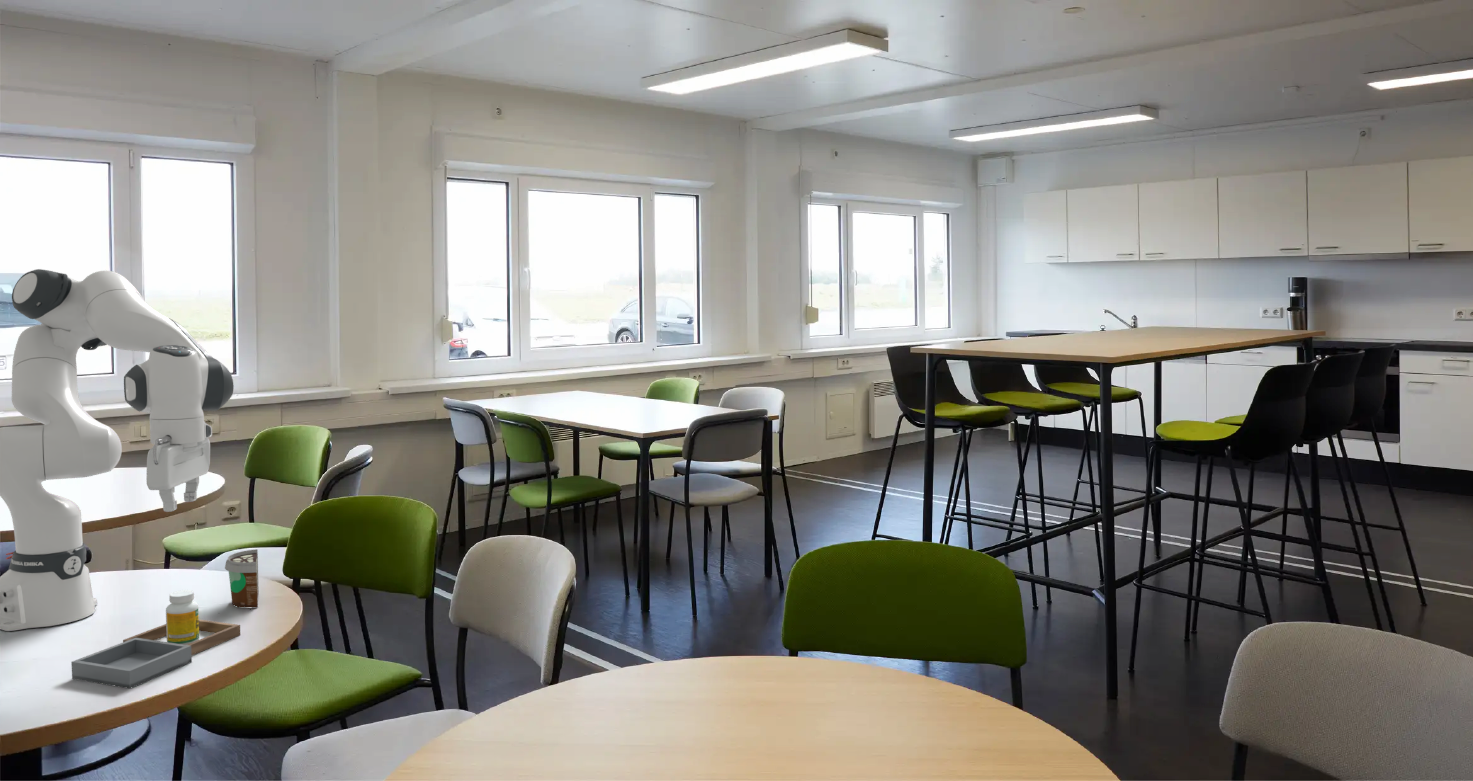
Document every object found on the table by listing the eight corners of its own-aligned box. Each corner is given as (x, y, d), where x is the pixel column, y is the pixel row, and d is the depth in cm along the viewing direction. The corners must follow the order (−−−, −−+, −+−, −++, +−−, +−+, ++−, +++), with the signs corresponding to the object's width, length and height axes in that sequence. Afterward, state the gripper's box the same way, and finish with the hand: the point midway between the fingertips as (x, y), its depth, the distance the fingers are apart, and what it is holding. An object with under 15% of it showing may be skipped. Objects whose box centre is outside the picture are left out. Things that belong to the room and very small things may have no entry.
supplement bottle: (164, 641, 185) (162, 592, 184) (196, 635, 189) (194, 587, 188) (169, 649, 181) (167, 599, 180) (202, 643, 184) (200, 594, 183)
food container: (227, 596, 213) (225, 551, 212) (258, 593, 216) (257, 548, 215) (224, 613, 202) (222, 565, 201) (257, 609, 205) (256, 562, 204)
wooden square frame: (123, 650, 180) (122, 640, 180) (184, 627, 193) (183, 617, 193) (182, 659, 176) (182, 648, 176) (240, 635, 189) (240, 625, 189)
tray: (72, 678, 167) (71, 661, 166) (136, 653, 179) (135, 637, 179) (130, 688, 163) (129, 671, 163) (191, 662, 175) (191, 645, 175)
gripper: (173, 439, 173) (176, 516, 174) (215, 426, 193) (218, 495, 194) (134, 440, 172) (137, 517, 173) (181, 427, 192) (183, 496, 193)
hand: (180, 506), depth 184 cm, fingers open, 8 cm apart
